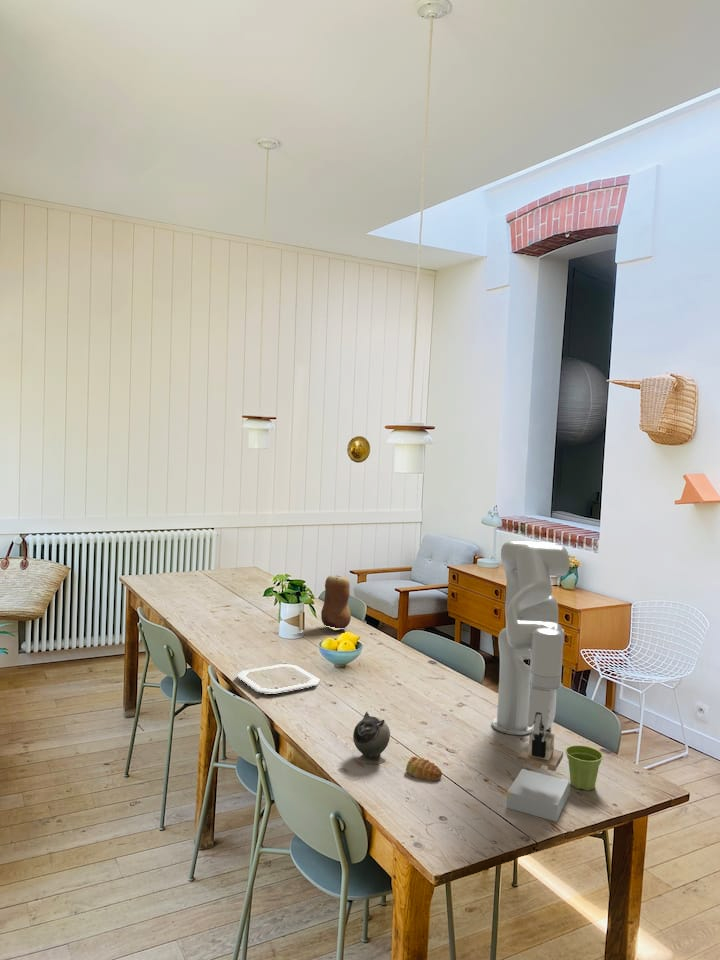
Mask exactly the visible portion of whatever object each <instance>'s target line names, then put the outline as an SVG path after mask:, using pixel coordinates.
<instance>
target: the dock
mask: <svg viewBox="0 0 720 960" xmlns="http://www.w3.org/2000/svg"><path fill="white" fill-rule="evenodd" d="M569 792H570V780H567V779H563V778H559V777H556V776H551V775H548V774H544V773H540V772H537V771H531V770H527V769H525V768H522V769H521V770H520V772H519V773H518V775H517V776H516V777H515V780H514V781H513V782H512V784H511V785H510V787H509V788H508V790H507V792H506V796H507V797H506V798H507V799H506V808H507V809H510V810H514V811H517V812H521V813H524V814H528V815H531V816H535V817H539V818H543V819H545V820H549V821H553V822H556V823H557V822H558V819H559V818H560V815H561V813H562V811H563V809H564V807H565V805H566V802H567V801H568V799H569V794H570V793H569Z"/></svg>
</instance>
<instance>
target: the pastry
mask: <svg viewBox="0 0 720 960" xmlns="http://www.w3.org/2000/svg"><path fill="white" fill-rule="evenodd" d="M405 771H406V773H407V774H408V775H409V776H410V777H414V778H416V779H420V780H425V781H429V782H430V781H434V782H437V781H439V780H440V779H441V778H442V776H443V771H442V770H441V769H440V768H439V767H438V766H437V765H435V763H433V762H431V761H429V759H425V758H423V757H419V758H418V757H417V756H412V757H411V758H409V760H408V761H407V764H406V767H405Z"/></svg>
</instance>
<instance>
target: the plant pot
mask: <svg viewBox="0 0 720 960" xmlns="http://www.w3.org/2000/svg"><path fill="white" fill-rule="evenodd" d="M564 751H565V754H566V757H567V760H568V768H569V769H568V770H569V783H570V785H571V786H572V787H573V788H576V789H578V790H579V789H582V790H583V791H591V790H594V789H595V787H596V783H597V777H598V773H599V767H600V765H601V762H602V760H603V759H604V754H603V752H601V751H600V750H599V749H596V748H594V747H591V746H586V745H579V744H576V745H575V744H574V745H569V746H567V747H566V748H565V750H564Z"/></svg>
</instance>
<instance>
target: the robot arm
mask: <svg viewBox="0 0 720 960" xmlns="http://www.w3.org/2000/svg"><path fill="white" fill-rule="evenodd" d="M500 558H501V563H502V566H503V569H504V572H505V576H506V577H505V578H506V585H505V587H506V588H505V604H504V613H505V627H504V628H502V629H501V630H500V631H499V634H498V637H497V639H498V651H499V680H498V695H497V696H498V697H497V698H498V699H497V712H496V713H497V714H496V715H497V716H496V717H493V719H492V720H491V726H492V727H493V729H495V730H496V731H498V732H501V733H503V734H508V735H511V736H523V735H528V734H529V735H530V734H531V733H532V731H533V739H532V755H533V756H537V757H541V758H545V752H546V741H545V734H546V731H547V732H552V724H553V722H554V720H555V718H556V712H557V711H556V710H557V691H558V690H560V689H561V688H562V674H563V673H562V672H563V671H562V670H563V669H562V668H563V654H564V653H563V651H564V643H565V638H566V637H565V630H564V628H562V625H561V624H560V623H559V605H558V600H557V599H556V598H555V597H554V595H552V593H553V587H552V581H551V576H556V577H563V576H566V575H567V574H568V573H569V571H570V567H571V566H570V565H571V561H570V559H571V558H570V555H569V553H568V551H567V549H566V547H564V546H563V545H561V544H559V543H554V542H539V541H526V540H523V541H521V540H519V541H518V540H512V541H511V540H510V541H507V542H504V543H503V544H502V546H501V549H500ZM524 660H530V663H529V667H528V665H527V664H526V662H524ZM540 731H543V733H542V734H541V733H540Z"/></svg>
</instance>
